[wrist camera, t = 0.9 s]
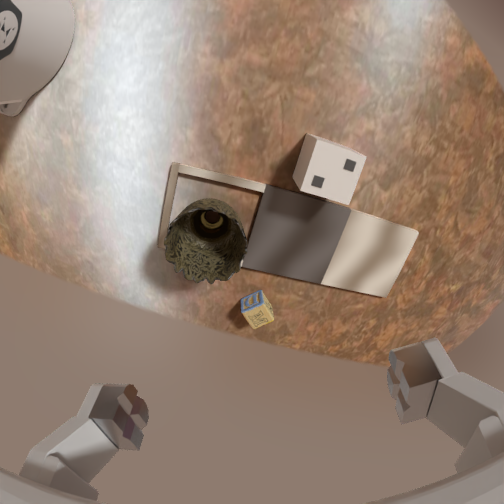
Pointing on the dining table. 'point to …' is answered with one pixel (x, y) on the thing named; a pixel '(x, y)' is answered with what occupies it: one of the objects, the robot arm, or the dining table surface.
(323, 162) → the die
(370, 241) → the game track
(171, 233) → the cup
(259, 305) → the alphabet block
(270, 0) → the dining table surface
